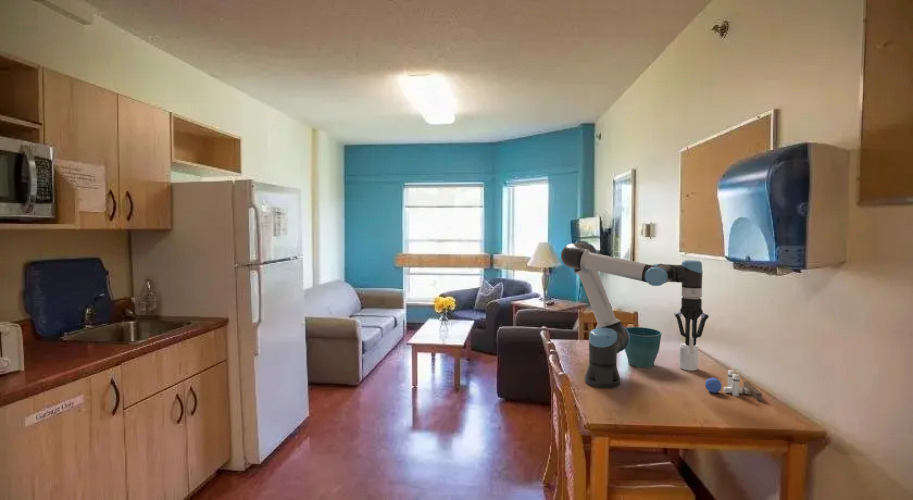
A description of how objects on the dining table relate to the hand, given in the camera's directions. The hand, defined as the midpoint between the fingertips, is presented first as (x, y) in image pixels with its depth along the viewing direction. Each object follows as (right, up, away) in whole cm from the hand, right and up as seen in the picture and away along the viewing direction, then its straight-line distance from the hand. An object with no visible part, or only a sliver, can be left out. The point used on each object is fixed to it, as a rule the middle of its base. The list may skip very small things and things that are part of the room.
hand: (690, 353), depth 187 cm
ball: (+9, -13, -2) cm, 16 cm away
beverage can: (+14, -14, +28) cm, 35 cm away
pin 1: (+17, -16, -1) cm, 23 cm away
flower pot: (-6, -14, +35) cm, 38 cm away
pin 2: (+16, -16, -5) cm, 23 cm away
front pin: (+13, -15, -2) cm, 20 cm away
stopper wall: (+23, -16, -5) cm, 28 cm away
